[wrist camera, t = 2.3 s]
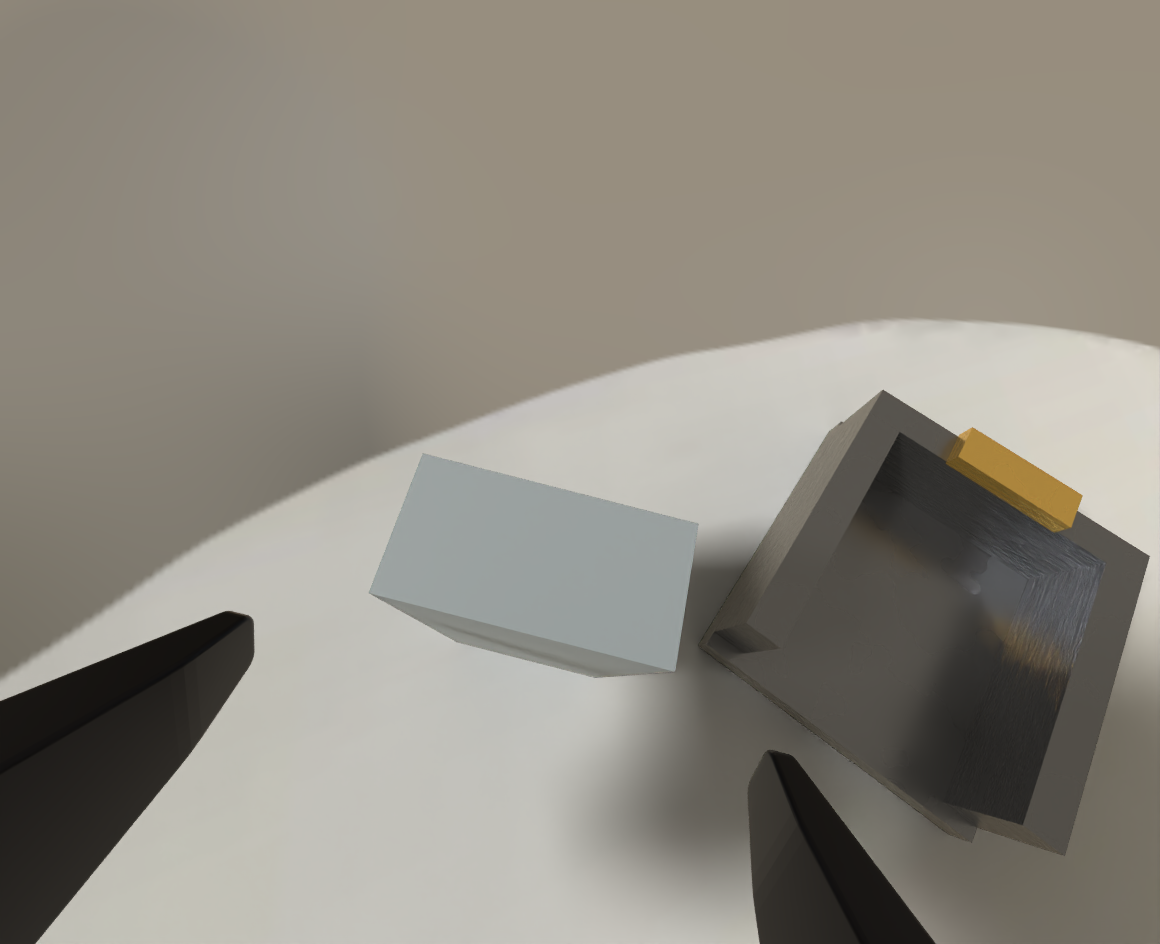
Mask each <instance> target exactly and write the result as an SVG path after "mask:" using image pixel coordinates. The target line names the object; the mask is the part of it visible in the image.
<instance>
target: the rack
mask: <svg viewBox="0 0 1160 944" xmlns="http://www.w3.org/2000/svg"><path fill="white" fill-rule="evenodd" d="M1082 496H1083V495H1081V494H1079V493H1078V492H1076V491H1075V490H1073V489H1071V488H1070V487H1068V486H1067V485H1065V484H1063V483H1062V482H1060V481H1058V480H1057V479H1055V478H1054V477H1052V476H1050V475H1049V474H1047V473H1046V472H1044V471H1042V470H1041V469H1039V468H1037V467H1036V466H1034V465H1033V464H1031V463H1029V462H1028V461H1026V460H1025V459H1023V458H1021V457H1020V456H1018V455H1016V454H1015V453H1013V452H1012V451H1010V450H1008V449H1007V448H1005V447H1004V446H1002V445H1000V444H999V443H997V442H995V441H994V440H992V439H991V438H989V437H987V436H986V435H984V434H983V433H981V432H979V431H978V430H976V429H974V428H973V427H972V428H970V429H969V430H967V431H965V432H963V433H962V434H960V435H959V437H958V436H956V435H955V434H953V433H951V432H950V431H948V430H947V429H945V428H943V427H942V426H940V425H939V424H937V423H935V422H934V421H932V420H931V419H929V418H927V417H926V416H924V415H923V414H921V413H919V412H918V411H916V410H915V409H913V408H911V407H910V406H908V405H907V404H905V403H903V402H902V401H900V400H899V399H897V398H895V397H894V396H892V395H891V394H889V393H887V392H886V391H884V390H882V391H881V392H879V393H878V394H877V395H876V396H875V397H873V398H872V399H871V400H870V401H869V402H867V403H866V404H865V405H864V406H863V407H861V408H860V409H859V410H858V411H857V412H855V413H854V414H853V415H852V416H850V417H849V418H848V419H847V420H846V421H844V422H840V423H839V424H838V425H837V426H835V427H834V428H833V429H832V430H831V431H829V433H828V434H827V436H826V437H825V439H824V441H823V442H822V444H821V446H820V447H819V449H818V451H817V452H816V454H815V455H814V457H813V459H812V460H811V462H810V464H809V465H808V467H807V468H806V470H805V472H804V473H803V475H802V477H801V478H800V480H799V482H798V483H797V485H796V486H795V488H794V490H793V491H792V493H791V495H790V496H789V498H788V500H787V501H786V503H785V504H784V506H783V508H782V509H781V511H780V513H779V514H778V516H777V518H776V519H775V521H774V522H773V524H772V526H771V527H770V529H769V531H768V532H767V534H766V535H765V537H764V539H763V540H762V542H761V544H760V545H759V547H758V549H757V550H756V552H755V553H754V555H753V557H752V558H751V560H750V562H749V563H748V565H747V567H746V568H745V570H744V571H743V573H742V575H741V576H740V578H739V580H738V581H737V583H736V584H735V586H734V588H733V589H732V591H731V593H730V594H729V596H728V598H727V599H726V601H725V602H724V604H723V606H722V607H721V609H720V611H719V612H718V614H717V616H716V617H715V619H714V620H713V622H712V624H711V625H710V627H709V629H708V630H707V632H706V634H705V635H704V637H703V638H702V640H701V642H700V643H699V645H698V646H699V647H700V648H701V649H703V650H704V651H705V652H707V653H708V654H709V655H711V656H712V657H713V658H715V659H716V660H717V661H719V662H720V663H721V664H723V665H724V666H725V667H727V668H728V669H729V670H731V671H732V672H733V673H735V674H736V675H737V676H739V677H740V678H741V679H743V680H744V681H745V682H747V683H748V684H749V685H751V686H752V687H753V688H755V689H756V690H757V691H759V692H760V693H761V694H763V695H764V696H765V697H767V698H768V699H769V700H771V701H772V702H773V703H775V704H776V705H777V706H779V707H780V708H781V709H783V710H784V711H785V712H787V713H788V714H789V715H791V716H792V717H793V718H795V719H796V720H797V721H799V722H800V723H801V724H803V725H804V726H805V727H807V728H808V729H809V730H811V731H812V732H813V733H815V734H816V735H817V736H819V737H820V738H821V739H823V740H824V741H825V742H827V743H828V744H829V745H831V746H832V747H833V748H834V749H836V750H837V751H838V752H840V753H841V754H842V755H844V756H845V757H846V758H848V759H849V760H850V761H852V762H853V763H854V764H856V765H857V766H858V767H860V768H861V769H862V770H864V771H865V772H866V773H868V774H869V775H870V776H872V777H873V778H874V779H876V780H877V781H878V782H880V783H881V784H882V785H884V786H885V787H886V788H888V789H889V790H890V791H892V792H893V793H894V794H896V795H897V796H898V797H900V798H901V799H902V800H904V801H905V802H906V803H908V804H909V805H910V806H912V807H913V808H914V809H916V810H917V811H918V812H920V813H921V814H922V815H924V816H925V817H926V818H928V819H929V820H930V821H932V822H933V823H934V824H936V825H937V826H938V827H940V828H941V829H942V830H944V831H945V832H946V833H948V834H949V835H952V836H955V837H957V838H960V839H963V840H966V841H969V842H971V843H972V840H973V838H974V835H975V832H976V829H977V828H980V829H983V830H986V831H989V832H992V833H996V834H999V835H1002V836H1005V837H1008V838H1011V839H1014V840H1017V841H1020V842H1023V843H1026V844H1029V845H1033V846H1036V847H1039V848H1042V849H1045V850H1048V851H1051V852H1054V853H1057V854H1060V855H1063V856H1065V853H1066V849H1067V846H1068V842H1069V839H1070V835H1071V832H1072V828H1073V825H1074V821H1075V818H1076V814H1077V811H1078V807H1079V803H1080V800H1081V796H1082V793H1083V789H1084V786H1085V782H1086V779H1087V775H1088V772H1089V768H1090V765H1091V761H1092V758H1093V754H1094V751H1095V747H1096V744H1097V740H1098V737H1099V733H1100V730H1101V726H1102V723H1103V719H1104V716H1105V712H1106V709H1107V705H1108V701H1109V698H1110V694H1111V691H1112V687H1113V684H1114V680H1115V677H1116V673H1117V670H1118V666H1119V663H1120V659H1121V656H1122V652H1123V649H1124V645H1125V642H1126V638H1127V635H1128V631H1129V628H1130V624H1131V621H1132V617H1133V614H1134V610H1135V607H1136V603H1137V599H1138V596H1139V592H1140V589H1141V585H1142V582H1143V578H1144V575H1145V571H1146V568H1147V564H1148V561H1149V557H1150V556H1148V555H1147V554H1145V553H1144V552H1142V551H1140V550H1139V549H1137V548H1136V547H1134V546H1132V545H1131V544H1129V543H1128V542H1126V541H1124V540H1123V539H1121V538H1120V537H1118V536H1116V535H1115V534H1113V533H1112V532H1110V531H1108V530H1107V529H1105V528H1104V527H1102V526H1100V525H1099V524H1097V523H1096V522H1094V521H1092V520H1091V519H1089V518H1088V517H1086V516H1084V515H1083V514H1081V513H1080V512H1078V511H1077V510H1078V507H1079V504H1080V502H1081V499H1082Z"/></svg>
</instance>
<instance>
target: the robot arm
mask: <svg viewBox="0 0 1160 944" xmlns="http://www.w3.org/2000/svg"><path fill="white" fill-rule="evenodd" d="M253 657H254V622H253V619H252V618H251V617H250V616H249V615H245V614H241V613H237V612H233V611H225V612H222V613H219V614H217V615H214V616H212V617H209V618H207V619H204V620H202V621H199V622H197V623H194V624H192V625H189V626H187V627H184V628H182V629H179V630H177V631H174V632H172V633H169V634H167V635H164V636H162V637H159V638H157V639H154V640H152V641H149V642H147V643H144V644H142V645H139V646H137V647H134V648H132V649H129V650H127V651H124V652H122V653H119V654H117V655H114V656H112V657H109V658H107V659H104V660H102V661H99V662H97V663H94V664H92V665H89V666H87V667H84V668H82V669H79V670H77V671H74V672H72V673H69V674H67V675H64V676H62V677H59V678H57V679H54V680H52V681H49V682H47V683H44V684H42V685H39V686H37V687H34V688H32V689H29V690H27V691H24V692H22V693H19V694H17V695H14V696H12V697H9V698H7V699H4V700H2V701H0V944H36V942H37V941H38V940H39V939H40V937H41V936H42V935H43V934H44V933H45V931H46V930H47V929H48V928H49V926H50V925H51V924H52V923H53V921H54V920H55V919H56V918H57V917H58V915H59V914H60V913H61V912H62V910H63V909H64V908H65V907H66V906H67V904H68V903H69V902H70V901H71V899H72V898H73V897H74V896H75V895H76V893H77V892H78V891H79V890H80V888H81V887H82V886H83V885H84V884H85V882H86V881H87V880H88V879H89V877H90V876H91V875H92V874H93V872H94V871H95V870H96V869H97V868H98V866H99V865H100V864H101V863H102V861H103V860H104V859H105V858H106V857H107V855H108V854H109V853H110V852H111V850H112V849H113V848H114V847H115V846H116V844H117V843H118V842H119V841H120V839H121V838H122V837H123V836H124V834H125V833H126V832H127V831H128V830H129V828H130V827H131V826H132V825H133V823H134V822H135V821H136V820H137V819H138V817H139V816H140V815H141V814H142V812H143V811H144V810H145V809H146V808H147V806H148V805H149V804H150V803H151V801H152V800H153V799H154V798H155V796H156V795H157V794H158V793H159V792H160V790H161V789H162V788H163V787H164V785H165V784H166V783H167V782H168V781H169V779H170V778H171V777H172V776H173V774H174V773H175V772H176V771H177V770H178V768H179V767H180V766H181V765H182V763H183V762H184V761H185V759H186V758H187V757H188V756H189V754H190V753H191V752H192V750H193V749H194V748H195V746H196V745H197V743H198V742H199V741H200V739H201V738H202V736H203V735H204V733H205V732H206V730H207V729H208V727H209V726H210V724H211V723H212V721H213V720H214V718H215V717H216V715H217V714H218V713H219V711H220V710H221V708H222V707H223V705H224V704H225V702H226V701H227V699H228V698H229V696H230V695H231V693H232V692H233V690H234V689H235V687H236V686H237V684H238V683H239V681H240V680H241V678H242V677H243V675H244V674H245V672H246V671H247V669H248V668H249V666H250V664H251V662H252V660H253ZM748 811H749V831H750V850H751V870H752V886H753V898H754V906H755V914H756V921H757V928H758V935H759V942H760V944H936V943H935V942H934V941H933V939H932V938H931V937H930V936H929V934H928V933H927V932H926V930H925V929H924V928H923V926H922V925H921V924H920V922H919V921H918V920H917V918H916V917H915V916H914V914H913V913H912V912H911V911H910V909H909V908H908V907H907V905H906V904H905V903H904V901H903V900H902V899H901V897H900V896H899V895H898V893H897V892H896V891H895V889H894V888H893V887H892V885H891V884H890V883H889V882H888V880H887V879H886V878H885V876H884V875H883V874H882V872H881V871H880V870H879V868H878V867H877V866H876V864H875V863H874V862H873V860H872V859H871V858H870V856H869V855H868V854H867V853H866V851H865V850H864V849H863V847H862V846H861V845H860V843H859V842H858V841H857V839H856V838H855V837H854V835H853V834H852V833H851V831H850V830H849V829H848V828H847V826H846V825H845V824H844V822H843V821H842V820H841V818H840V817H839V816H838V814H837V813H836V812H835V810H834V809H833V808H832V806H831V805H830V804H829V802H828V801H827V800H826V799H825V797H824V796H823V795H822V793H821V792H820V791H819V789H818V788H817V787H816V785H815V784H814V783H813V781H812V780H811V779H810V777H809V776H808V775H807V774H806V772H805V771H804V770H803V768H802V767H801V766H800V764H799V763H798V762H797V760H796V759H795V758H794V757H793V756H791V755H789V754H785V753H782V752H778V751H774V750H768V751H767V752H765V754H764V755H763V757H762V759H761V761H760V762H759V764H758V766H757V768H756V770H755V772H754V774H753V776H752V778H751V780H750V782H749V786H748Z"/></svg>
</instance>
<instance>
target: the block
mask: <svg viewBox="0 0 1160 944" xmlns="http://www.w3.org/2000/svg"><path fill="white" fill-rule="evenodd" d="M697 530H698V524H697V523H693V522H689V521H686V520H682V519H678V518H674V517H670V516H666V515H662V514H658V513H654V512H650V511H646V510H642V509H639V508H635V507H631V506H627V505H623V504H619V503H615V502H611V501H607V500H603V499H599V498H596V497H592V496H588V495H584V494H580V493H576V492H572V491H568V490H564V489H560V488H556V487H552V486H549V485H545V484H541V483H537V482H533V481H529V480H525V479H521V478H517V477H513V476H509V475H506V474H502V473H498V472H494V471H490V470H486V469H482V468H478V467H474V466H470V465H466V464H462V463H459V462H455V461H451V460H447V459H443V458H439V457H435V456H431V455H427V454H422V457H421V459H420V462H419V464H418V467H417V470H416V472H415V475H414V477H413V480H412V482H411V485H410V488H409V490H408V493H407V495H406V498H405V501H404V503H403V506H402V508H401V511H400V513H399V516H398V519H397V521H396V524H395V526H394V529H393V532H392V534H391V537H390V539H389V542H388V544H387V547H386V550H385V552H384V555H383V557H382V560H381V562H380V565H379V568H378V570H377V573H376V575H375V578H374V581H373V583H372V586H371V588H370V591H369V593H370V594H371V595H373V596H375V597H377V598H379V599H380V600H382V601H384V602H386V603H388V604H389V605H391V606H393V607H395V608H397V609H398V610H400V611H402V612H404V613H405V614H407V615H409V616H411V617H413V618H414V619H416V620H418V621H420V622H422V623H423V624H425V625H427V626H429V627H431V628H432V629H434V630H436V631H438V632H440V633H441V634H443V635H445V636H447V637H449V638H450V639H452V640H454V641H456V642H459V643H463V644H466V645H470V646H474V647H478V648H482V649H486V650H490V651H494V652H497V653H501V654H505V655H509V656H513V657H517V658H521V659H525V660H529V661H532V662H536V663H540V664H544V665H548V666H552V667H556V668H560V669H564V670H567V671H571V672H575V673H579V674H583V675H587V676H591V677H595V678H597V677H611V676H625V675H639V674H652V673H666V672H675V670H676V663H677V657H678V651H679V644H680V638H681V632H682V625H683V619H684V613H685V606H686V600H687V594H688V587H689V581H690V575H691V568H692V562H693V556H694V549H695V543H696V537H697Z"/></svg>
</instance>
